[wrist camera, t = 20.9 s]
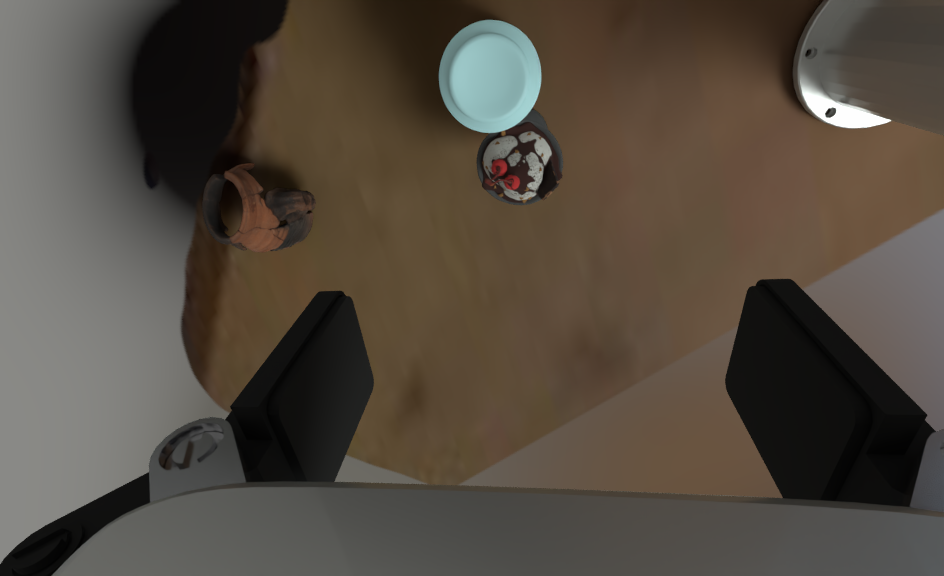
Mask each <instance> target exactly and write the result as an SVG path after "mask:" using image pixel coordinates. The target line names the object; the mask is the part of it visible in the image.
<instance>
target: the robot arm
mask: <svg viewBox="0 0 944 576" xmlns="http://www.w3.org/2000/svg"><path fill="white" fill-rule="evenodd" d="M807 50H808V51H809V52H808V54H807V55H806V56H805V53H806V51H807ZM793 82H794V88H795V91H796V94H797V97H798V100H799V101H800V103H801V104H802V106H803V107H804V109H805V110H806V111H807V112H809V113H810V114H811V115H812V116H813V117H814V118H816V119H818V120H820V121H822V122H824V123H826V124H830V125H833V126H836V127H841V128H850V129H856V128H868V127H873V126H877V125H881V124H885V123H887V122H890V121H895V122H898V123H902V124H905V125H909V126H912V127H916V128H919V129H923V130H926V131H930V132H933V133H936V134H940V135H943V136H944V0H824V1H823V2H822V3H821V4H820V5H819V6H818V8H817V9H816V11H815V12H814V14H813V15H812V17H811V18H810V20H809V21H808V23H807V24H806V27H805V29H804V31H803V33H802V35H801V37H800V40H799V42H798V46H797V49H796V53H795V56H794V63H793ZM827 109H828V111H827V112H826V110H827ZM825 112H826V113H825ZM725 383H726V389H727V392H728V394H729V396H730V398H731V400H732V402H733V404H734V406H735V408H736V410H737V412H738V413H739V415H740V417H741V419H742V421H743V423H744V425H745V427H746V429H747V430H748V432H749V434H750V436H751V438H752V440H753V441H754V444H755V445H756V448H757V449H758V451H759V453H760V455H761V457H762V459H763V460H764V463H765V464H766V466H767V468H768V470H769V472H770V474H771V476H772V478H773V480H774V481H775V484H776V485H777V487H778V489H779V491H780V493H781V494H782V497H783V498H768V497H746V496H723V495H721V496H720V495H698V494H675V493H650V492H649V493H648V492H627V491H600V490H573V489H546V488H545V489H544V488H517V487H515V488H514V487H488V486H459V485H426V484H392V483H360V482H334V481H335V478H336V476H337V474H338V471H339V469H340V467H341V464H342V462H343V460H344V457H345V455H346V452H347V450H348V448H349V445H350V443H351V441H352V438H353V436H354V433H355V431H356V429H357V426H358V424H359V421H360V419H361V417H362V414H363V412H364V410H365V407H366V405H367V402H368V400H369V398H370V395H371V393H372V390H373V385H374V379H373V374H372V370H371V367H370V363H369V359H368V355H367V352H366V348H365V344H364V341H363V337H362V333H361V330H360V326H359V322H358V319H357V315H356V311H355V308H354V304H353V301H352V299H351V297H349V296H346V295H345V294H344V292H342V291H321V292H318V293H317V294H316V295H315V297H314V298H313V299H312V301H311V302H310V303H309V305H308V306H307V307H306V308H305V310H304V311H303V312H302V314H301V315H300V316H299V318H298V319H297V320H296V321H295V323H294V324H293V325H292V327H291V328H290V329H289V331H288V332H287V333H286V335H285V336H284V337H283V338H282V340H281V341H280V342H279V344H278V345H277V346H276V348H275V349H274V350H273V352H272V353H271V354H270V355H269V357H268V358H267V359H266V361H265V362H264V363H263V365H262V366H261V367H260V368H259V370H258V371H257V372H256V374H255V375H254V376H253V378H252V379H251V380H250V382H249V383H248V384H247V385H246V387H245V388H244V389H243V391H242V392H241V393H240V395H239V396H238V397H237V399H236V400H235V401H234V402H233V404H232V405H231V406H230V407H231V409H232V411H231V413H230V414H229V415H228V417H227V418H226V419H225V420H224V419H222V418H216V417H210V418H203V419H199V420H196V421H193V422H191V423H188V424H186V425H184V426H182V427H180V428H178V429H176V430H175V431H174V432H172V433H171V434H170V435H168V436H167V437H166V438H165V439H164V440H163V441H162V442H161V443H160V444H159V445H158V446H157V447H156V449H155V450H154V452H153V454H152V455H151V458H150V463H149V473H146V474H144V475H143V476H141V477H139V478H137V479H135V480H133V481H131V482H129V483H127V484H125V485H123V486H121V487H119V488H117V489H115V490H114V491H112V492H110V493H108V494H106V495H104V496H102V497H100V498H98V499H96V500H94V501H92V502H90V503H88V504H86V505H84V506H83V507H81V508H79V509H77V510H75V511H73V512H71V513H69V514H67V515H65V516H63V517H61V518H59V519H57V520H55V521H54V522H52V523H50V524H48V525H46V526H44V527H43V528H41V529H39V530H38V531H36V532H34V533H33V534H31V535H30V536H29V537H27V538H26V539H25V540H24V541H22V542H21V543H20V544H19V545H17V546H16V547H15V548H14V549H13V550H12V551H11V552H10V553H9V554H8V555H7V556H6V557H5V558H4V560H3V561H2V563H1V564H0V576H944V429H942V430H939V431H937V432H936V431H935V430H934V429H933V428H932V427H931V426H930V425H929V424H928V423H927V422H926V421H925V418H926V417H927V414H926V413H925V412H924V411H923V410H922V409H921V408H920V407H919V406H918V405H917V404H916V403H915V402H914V401H913V400H912V399H911V398H910V397H909V396H908V395H907V394H906V393H905V392H904V391H903V390H902V389H901V388H900V387H899V386H898V385H897V384H896V383H895V382H894V381H893V380H892V379H891V378H890V377H889V376H888V375H887V374H886V373H885V372H884V371H883V370H882V369H881V368H880V367H879V366H878V365H877V364H876V363H875V362H874V361H873V360H872V359H871V358H870V357H869V356H868V355H867V354H866V353H865V352H864V351H863V350H862V349H861V348H860V347H859V346H858V345H857V344H856V343H855V342H854V341H853V340H852V339H851V338H850V337H849V336H848V335H847V334H846V333H845V332H844V331H843V330H842V329H841V328H840V327H839V326H838V325H837V324H836V323H835V322H834V321H833V320H832V319H831V318H830V317H829V316H828V315H827V314H826V313H825V312H824V311H823V310H822V309H821V308H820V307H819V306H818V305H817V304H816V303H815V302H814V301H813V300H812V299H811V298H810V297H809V296H808V295H807V294H806V293H805V292H804V291H803V290H802V289H801V288H800V287H799V286H798V285H797V284H796V283H795V282H794V281H793V280H791V279H765V280H760V281H758V282H757V284H756V286H751V287H749V289H748V291H747V294H746V298H745V302H744V306H743V310H742V314H741V318H740V322H739V326H738V330H737V334H736V338H735V342H734V346H733V350H732V354H731V358H730V362H729V366H728V370H727V374H726V379H725Z"/></svg>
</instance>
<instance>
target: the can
mask: <svg viewBox="0 0 944 576" xmlns="http://www.w3.org/2000/svg"><path fill="white" fill-rule="evenodd" d="M540 85H541V66H540V61H539V58H538V55H537V52H536V50H535V48H534V46H533V44H532V43H531V41H530V40H529V39H528V37H527V36H526V35H525V34H524V33H523V32H522V31H520V30H519V29H518V28H516V27H515V26H513V25H511V24H509V23H506V22H503V21H498V20H483V21H478V22H475V23H473V24H470V25H468V26H467V27H465V28H463V29H462V30H461V31H459V32H458V33H457V34H456V35H455V36H454V37H453V38H452V40H451V41H450V42H449V44H448V46H447V47H446V49H445V51H444V53H443V56H442V59H441V63H440V68H439V86H440V91H441V95H442V98H443V101H444V103H445V105H446V107H447V108H448V110H449V111H450V113H451V114H452V115H453V116H454V118H455V119H457V120H458V121H459V122H460V123H461V124H463V125H464V126H466V127H468V128H470V129H472V130H475V131H478V132H483V133H496V132H501V131H504V130H507V129H509V128H511V127H513V126H515V125H516V124H518V123H519V122H520V121H522V120H523V119H524V118H525V117H526V116H527V114H528V113H529V112H530V110H531V109H532V107H533V106H534V104H535V102H536V100H537V97H538V94H539V90H540Z"/></svg>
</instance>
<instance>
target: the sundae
mask: <svg viewBox="0 0 944 576" xmlns="http://www.w3.org/2000/svg"><path fill="white" fill-rule="evenodd" d="M562 168H563V158H562V152H561V149H560V146H559V144H558V142H557V140H556V138H555V137H554V136H553V135H552V134H551V132H550V131H549V130H548V129H547V125H546V122H545V120H544V118H543V117H542V116H541V115H540V114H539V113H538V112H537V111H535V110H533V109H531V110H530V112H529V113H528V114H527V116H526V117H525V118H524V119H523V120H522V121H520V122H519V123H518V124H516V125H515V126H513V127H511V128H509V129H507V130H504V131H501V132H496V133H490V134H489V135H488V136H487V137H486V138H485V139H484V140H483V142H482V144H481V146H480V148H479V151H478V155H477V170H478V175H479V178H480V180H481V183H482V187H483V188H484V189H485V190H486V191H487V192H489V193H490V194H491V195H492V196H493V197H495V198H496V199H498V200H500V201H503V202H506V203H509V204H514V205H527V204H532V203H534V202H537V201H539V200H541V199H542V200H545V199H546V198H547V197H548V196H549V195H550V194H551V193H552V192H553V191H554V189H555V188H557V186H558V185H559V180H560V179H561V178H562Z"/></svg>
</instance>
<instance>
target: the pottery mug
mask: <svg viewBox="0 0 944 576" xmlns="http://www.w3.org/2000/svg"><path fill="white" fill-rule="evenodd" d="M254 165H255V164H254V163H246V164H240V165H237V166H235V167H234V168H232V169H230V170H229V171H225V174H224V175H219V174H214V175H212V176H211V177H210V179H209V180H208V182H207V184H206V186H205V189H204V193H203V203H202V208H203V216H204V221H205V224H206V226H207V229H208V230H209V232H210V233H211V235H212V236H213V238H215V239H216V240H217V241H218V242H220V243H221V244H232V245H233V246H235V247H237V248H239V249H241V250H247V248H248V249H250V250H252V251H254V252H266V251H269V250H270V251H277V250H279V249H285V248H288V247H291V246H292V245H294V244H297V243H299V242H301V241H302V240H304V239H305V237H306V236H307V235H308V233H309V231H310V230H311V227H312V222H313V213H312V212H308V211H309V210H313V209H314V208H315V204H316V201H315V199H314V196H313V195H312V194H311V193H310V192H308V191H301V190H299V189H289V190H288V189H286V188H274V189H272V190H270V191H268V192H267V193H266V195H265V200H264V199H263V198H261V196H260V195H259V194H260V193H261V192H263V188H262V187H261V186H260V184H259V183H258V182H257V181H256V180H255V179H254V177H252V176H251V175H250V174H249V173H248V172H246V171H245V170H250V169H252V168H253V167H254ZM227 180H230V181H231V182H233V183H234V184H235V186H236V187H237V189H238V191H239V193H240V196H241V198H242V204H243V215H242V221H241V225H240V227H239V230H238V231H237V232H236V233H235V234H234V235H233V236H231V237H229V236H227V235H226V234H225V232H224V231H228V228H227V227H226V226H225V225H224V223H223V221H222V219H221V210H220V205H219V202H220V200H221V196H222V190H223V187H224V184H225V183H226V181H227ZM307 212H308V213H307ZM280 220H286V221H287V223H286V224H283V225H281V226H279V224H280ZM242 244H243V245H244V246H245V247H244V246H242ZM246 247H247V248H246Z"/></svg>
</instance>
